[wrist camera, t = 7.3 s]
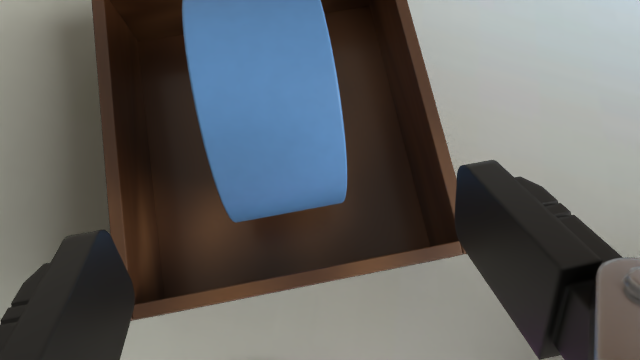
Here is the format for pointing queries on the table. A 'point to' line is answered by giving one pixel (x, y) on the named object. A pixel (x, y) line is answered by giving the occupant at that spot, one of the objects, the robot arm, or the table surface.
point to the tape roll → (267, 104)
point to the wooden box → (280, 230)
